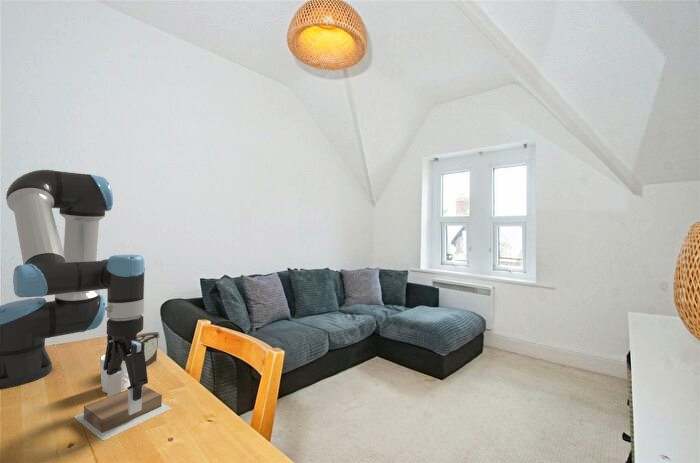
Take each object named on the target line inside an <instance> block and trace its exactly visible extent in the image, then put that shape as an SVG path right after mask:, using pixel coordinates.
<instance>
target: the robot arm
mask: <svg viewBox="0 0 700 463" xmlns="http://www.w3.org/2000/svg"><path fill="white" fill-rule="evenodd" d="M5 198H6V203H7V207H8V208H9V210H11V211H12V212H13V215H14V220H15V225H16V230H17V231H16V232H17V236H18V242H19V248H20V253H21V258H22V264H19V265H16V266H15V267H14V269H13V274H12V277H13V278H12V284H13V293H14V295H15V296H16V297H18V298H25V299H21V300H16V301H15V300H14V301H11V302H7V303H5V304H1V305H0V387H5V388H10V387H11V388H12V387H17V386H19V385H23V384H27V383H31V382H33V381H36V380H39V379H42V378H43V377H45V376H47V375H49V374H50V373H51V372H52V370H53V363H52V362H53V361H52V360H51V358H50V355H49V353H48V351H47V349H46V340H47V339H50V338H56V337H61V336H65V335H66V336H67V335H72V334H77V333H85V332H87V331H91V330H95V329H97V328H98V327H99V326H101V325H102V323H103V321H104V317H105V314H106V317H107V318H108V319H107V321H106V335H107V337H106V340H107V342H106V349H105V353H104V355H105V361H104V367H103V369H104V370H107V371H106V372H107V375H109V376H108V393H107V397H110V396H113V395H115V394H118V393H121V392H122V390H121V372H118V371H121V369H122V368H121V364H122V361H125V364H126V368H127V373H128V377H129V381H130V386H129V387H127V388H126V390H128V415H131V414H134V413H136V412H138V411H141V410H142V385H144V386H145V385H147V384H148V383H149V380H148V372H147V368H146V362H145V354H144V347H145V344H144V342H141V343H138V340H137V335H139V333H141V332H142V331H143V330H144V316H143V314H144V313H145V272H146V267H145V259H144V257H143V256H142V255H140V254H119V255H117V254H116V255H111V256H109V257H108V259H107V258H106V259H101V260H97V255H98V239H99V225H100V221H101V220H102V219H104V218H105V217H106V212H109V211H111V210H112V208H113V204H114V196H113V191H112V186H111V184H110V182H109V180H107V178H105V176H104V177H103V176H101V175H93V174H91V173H89V174H88V173H87V174H86V173H79V172H68V171H59V170H53V169H38V170H33V171H29V172H28V173H25V174H22V175H21V176H19V177H18V178H16V179H15V180H14V181H13V182H12V183H11V184H10V185H9V187H8V189H7V191H6V197H5ZM53 209H59V210H58V211H59V212H58V213H59V215H60V216H61V217H63V219H64V220H65V221H64V222H65V224H64V236H63V238H64V239H63V245H62V241H61V238H60V235H59V231H58V228H57V223H56V220H55V216H54V212H53ZM100 290H106V291H107V295H106V296H107V300H106V299H105V297H104V296H103V295H101V294H100ZM46 296H54V300H51V301H50V300H49V301H47V300H46V298H44V297H46ZM106 301H107V304H106ZM106 305H107V306H106ZM130 354H131V355H130ZM127 355H128V356H127ZM108 364H109V365H108ZM117 372H118V373H117Z"/></svg>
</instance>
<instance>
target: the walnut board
mask: <svg viewBox="0 0 700 463" xmlns="http://www.w3.org/2000/svg"><path fill="white" fill-rule="evenodd" d="M162 396H163V395H162V394H161V393H159V392H157V391H155V390H153V389H152V388H149V387H147V386H146V385H145V384H144V385H142V410H141V411H138V412H136V413H134V414H131V415H128V389H125V390H122V391H121V393H118V394H115V395H113V396H110V397H108V396H107V397H104V398H103V399H99V400H97V401H94V402H92V403H89V404H86V405H83V413H84V419H85V420H86V421H87V422H89V423H90V424H91V425H93V426H94V427H95V428H96V429H98V430H99V431H100V432H101V433H104V432H106V431H108V430H110V429H113V428H115V427H117V426H119V425H121V424H124V423H126V422H128V421H130V420H133V419H135V418H137V417H139V416H141V415H144V414H146V413H148V412H150V411H152V410H155V409H157V408H159V407H161V406H162V403H163V402H162V400H163V398H162Z"/></svg>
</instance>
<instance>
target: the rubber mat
mask: <svg viewBox="0 0 700 463" xmlns="http://www.w3.org/2000/svg"><path fill="white" fill-rule="evenodd" d="M171 409H173V408H172V407H170V406H168V405H167V404H165V403H163V402H162V406H161V407H159V408H157V409H155V410H152V411H150V412H148V413H146V414H144V415H141V416H139V417H137V418H135V419H133V420H130V421H128V422H126V423H124V424H121V425H119V426H117V427H115V428H113V429H110V430H108V431H106V432H104V433H101V432H100V431H99V430H98V429H96V428H95V427H94V426H93V425H91V424H90V423H89V422H87V421H86V420H85V419H84V412H82V413H79V414H77V415H74V416H73V418H74V419H75V420H77V421H78V422H79V423H80V424H82V425H83V426H84V427H85V428H87V429H88V430H89V431H90V432H92V433H93V435H95V436H96V437H98V439H100V440H101V441H106V440H109V438H112V437H114V436H116V435H118V434H120V433H123V432H125V431H127V430H129V429H131V428H133V427H135V426H138V425H140V424H141V423H143V422H146V421H148V420H151V419H152V418H154V417H156V416H159V415H161V414H164V413H165V412H168V411H170V410H171Z"/></svg>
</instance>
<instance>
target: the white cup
mask: <svg viewBox="0 0 700 463" xmlns="http://www.w3.org/2000/svg"><path fill="white" fill-rule="evenodd" d="M130 355H131V354H130ZM127 356H128V355H127ZM99 359H100V360H99V361H100V365H99V366H100V382H101V386H102V387H101V391H102V392H104V393H106V394H108V376H109V375H107V372H106V371H107V370H104V369H103V367H104V361H105V354H103V355H102V356H101V357H100V358H99ZM108 365H109V364H108ZM121 368H122V369H121V371H118V372H121V391H125V390H127V387H129V386H131V385H130V381H129V377H128V373H127V368H126V364H125V361H122V364H121ZM118 372H117V373H118Z"/></svg>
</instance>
